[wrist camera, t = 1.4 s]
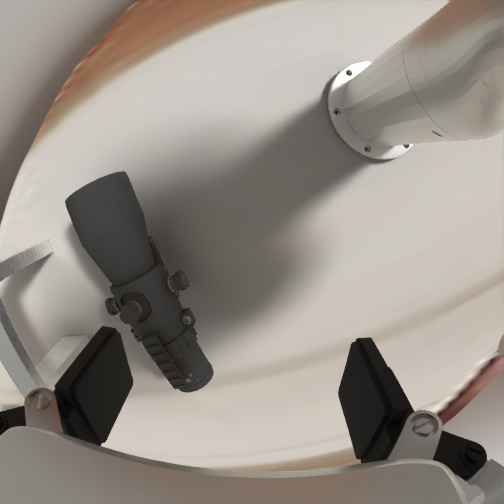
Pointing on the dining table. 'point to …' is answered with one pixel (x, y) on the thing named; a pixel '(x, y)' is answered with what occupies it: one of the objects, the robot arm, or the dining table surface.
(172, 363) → the rifle scope
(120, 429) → the dining table surface
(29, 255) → the mounting bracket
